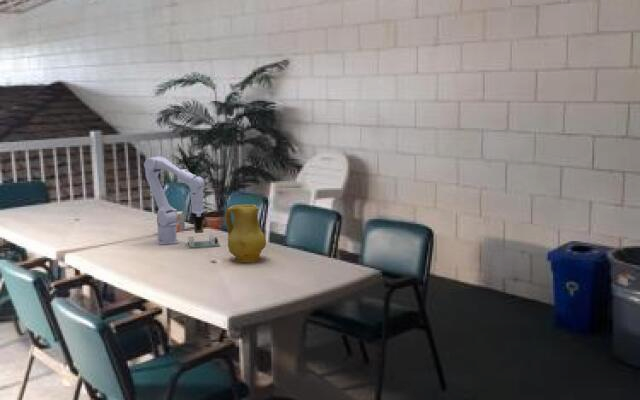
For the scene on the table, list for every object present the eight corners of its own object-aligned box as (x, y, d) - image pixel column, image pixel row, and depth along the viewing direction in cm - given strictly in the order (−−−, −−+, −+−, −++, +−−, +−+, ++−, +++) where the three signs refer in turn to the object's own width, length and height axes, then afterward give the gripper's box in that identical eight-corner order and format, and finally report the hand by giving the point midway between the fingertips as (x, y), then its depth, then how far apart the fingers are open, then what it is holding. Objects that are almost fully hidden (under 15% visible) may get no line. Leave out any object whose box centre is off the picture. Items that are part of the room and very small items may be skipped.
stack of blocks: (174, 227, 370) (173, 205, 368) (185, 227, 368) (184, 206, 366) (157, 235, 349) (156, 212, 347) (168, 235, 348) (167, 213, 346)
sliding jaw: (210, 245, 321) (210, 239, 321) (209, 240, 331) (208, 235, 330) (218, 244, 322) (218, 238, 322) (216, 240, 332) (216, 234, 331)
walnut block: (195, 233, 321) (194, 223, 320) (194, 231, 326) (194, 221, 325) (203, 232, 322) (202, 222, 321) (202, 230, 327) (202, 220, 326)
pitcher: (235, 265, 284) (235, 208, 281) (221, 258, 300) (220, 204, 298) (272, 261, 292) (271, 206, 289) (256, 255, 308) (255, 202, 306)
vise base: (189, 248, 318) (189, 241, 317) (188, 243, 329) (187, 236, 329) (220, 246, 321) (220, 239, 321) (217, 241, 333) (217, 234, 332)
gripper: (206, 203, 315) (207, 230, 317) (204, 198, 329) (205, 225, 331) (191, 204, 313) (193, 231, 316) (190, 199, 327) (191, 226, 329)
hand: (198, 228), depth 323 cm, fingers closed on walnut block, 5 cm apart
